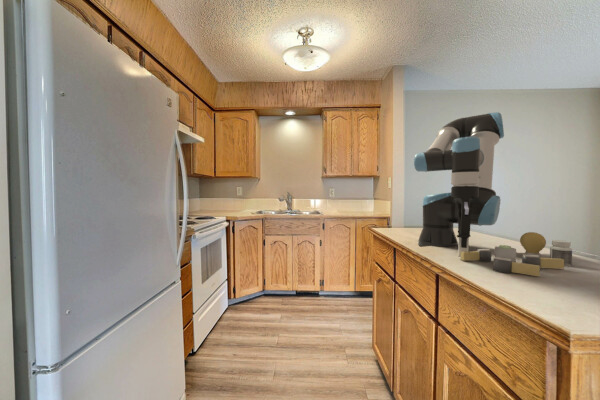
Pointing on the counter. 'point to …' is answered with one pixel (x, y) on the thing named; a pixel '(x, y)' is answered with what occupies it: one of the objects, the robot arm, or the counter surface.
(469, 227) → the robot arm
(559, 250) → the pill bottle
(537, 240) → the light bulb
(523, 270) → the knob
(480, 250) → the knob
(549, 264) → the knob
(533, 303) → the counter surface
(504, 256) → the tribrach plate
